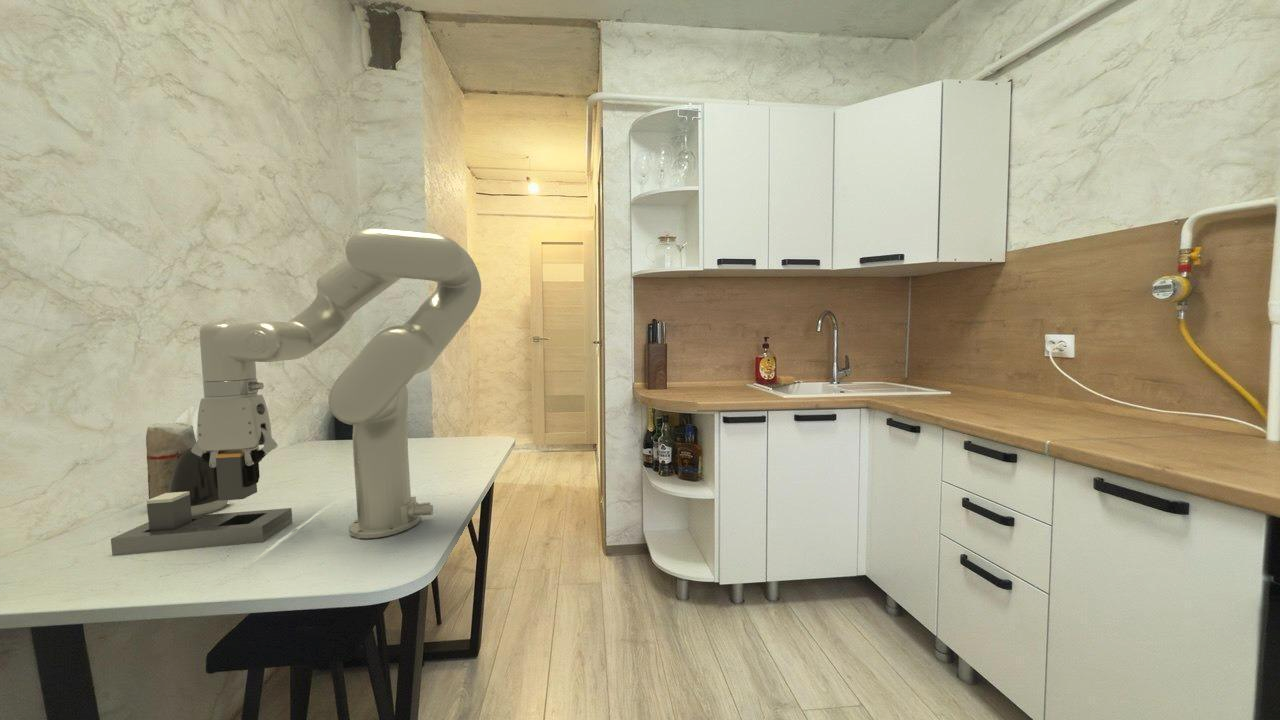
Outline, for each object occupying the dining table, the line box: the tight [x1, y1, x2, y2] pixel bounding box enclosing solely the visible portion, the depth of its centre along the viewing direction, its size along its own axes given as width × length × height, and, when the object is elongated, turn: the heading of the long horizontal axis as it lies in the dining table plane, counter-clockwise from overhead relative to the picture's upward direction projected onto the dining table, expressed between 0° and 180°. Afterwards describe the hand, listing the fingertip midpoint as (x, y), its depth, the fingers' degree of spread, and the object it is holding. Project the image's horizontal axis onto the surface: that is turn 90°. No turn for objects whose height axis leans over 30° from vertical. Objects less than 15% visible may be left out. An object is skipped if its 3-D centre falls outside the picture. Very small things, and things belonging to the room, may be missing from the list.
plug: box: [216, 450, 258, 501], centre depth 88 cm, size 4×4×9 cm
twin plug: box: [146, 491, 192, 532], centre depth 87 cm, size 4×4×9 cm
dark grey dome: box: [168, 448, 229, 516], centre depth 102 cm, size 10×10×15 cm
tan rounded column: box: [145, 422, 197, 500], centre depth 106 cm, size 8×8×20 cm
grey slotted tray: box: [110, 507, 293, 556], centre depth 88 cm, size 24×9×4 cm, turn 98°
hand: (237, 484), depth 88 cm, fingers closed on plug, 4 cm apart
